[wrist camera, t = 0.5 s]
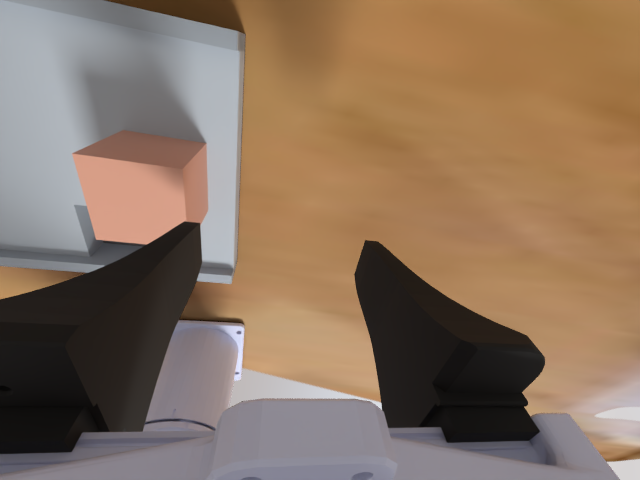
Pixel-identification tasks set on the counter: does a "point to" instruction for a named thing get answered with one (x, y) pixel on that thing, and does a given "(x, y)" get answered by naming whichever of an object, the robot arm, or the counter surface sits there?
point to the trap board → (110, 121)
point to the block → (142, 185)
